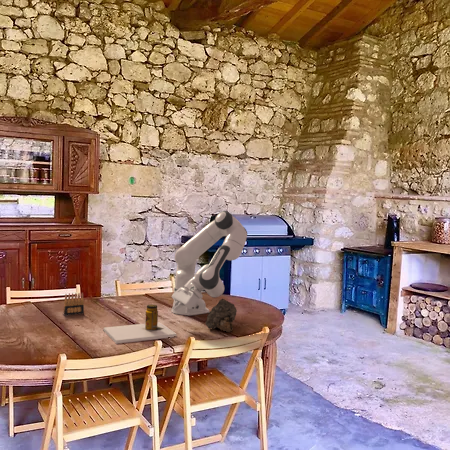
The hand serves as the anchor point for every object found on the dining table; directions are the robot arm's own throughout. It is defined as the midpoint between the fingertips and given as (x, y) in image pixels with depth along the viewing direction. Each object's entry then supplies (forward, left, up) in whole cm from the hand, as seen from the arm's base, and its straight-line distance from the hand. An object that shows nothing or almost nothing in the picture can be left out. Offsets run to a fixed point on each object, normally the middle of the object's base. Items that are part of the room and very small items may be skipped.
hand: (173, 309), depth 247 cm
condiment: (+11, 0, -9) cm, 14 cm away
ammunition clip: (+40, -46, -11) cm, 62 cm away
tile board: (+18, +1, -10) cm, 21 cm away
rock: (-24, +8, -11) cm, 28 cm away
